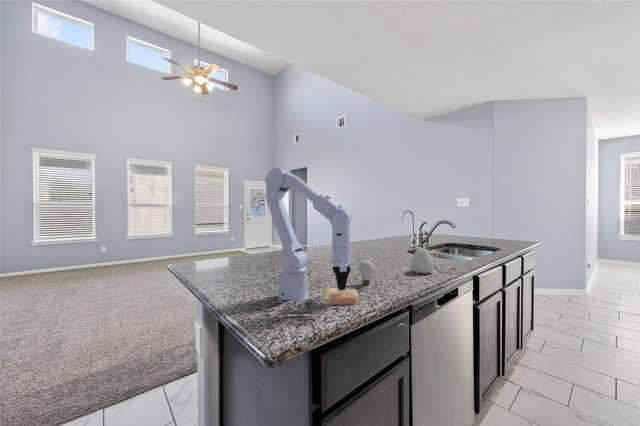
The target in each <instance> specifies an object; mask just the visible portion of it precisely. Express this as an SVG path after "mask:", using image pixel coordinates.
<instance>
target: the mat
mask: <svg viewBox="0 0 640 426" xmlns="http://www.w3.org/2000/svg"><path fill="white" fill-rule="evenodd" d="M329 292H354V295H355V297H356V304H355V305H363V303H362V300H361V298H360V295H359V294H358V292H357V289H356V287H355V286H354V287H349V286H348V287H346V288H345V290H339V289H338V287H322V305H323V306H326V305H329V306H331V305H339V306H340V304H330V302H329Z"/></svg>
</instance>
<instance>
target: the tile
mask: <svg viewBox="0 0 640 426" xmlns="http://www.w3.org/2000/svg"><path fill="white" fill-rule="evenodd" d="M329 302H330V304H339V305H357V304H356V297H355V295H354V292H329Z"/></svg>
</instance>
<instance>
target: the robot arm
mask: <svg viewBox="0 0 640 426" xmlns="http://www.w3.org/2000/svg"><path fill="white" fill-rule="evenodd" d="M264 182H265V202H266V204H267V207H268V210H269V213H270V216H271V218H272V220H273V223H274V226H275V229H276V232H277V235H278V237H279V239H280V242H281V245H282V247H281V251H280V255H281V265H282V268H283V270H284V271H280V272H279V275H278V301H283V300H285V301H286V300H287V301H290V300H291V301H294V300H297V301H298V300H300V301H301V300H302V301H303V300H304V301H305V300H307V301H308V299H309V292H310V291H309V292H308V274H307V273H308V272H307V271H308V268H307V265H309V262H310V255H309V254H308V252H307V251H306V250H305V249H304V246H303V245H302V244H301V243H300V241H298V239H297V235H296V233H295V230H294V228H293V225H292V222H291V219H290V217H289V214H288V212H287V208H286V206H285V204H284V200H283V199H284V197H285V195H286V193H287V192H288V191H290V189H294V190H295V191H297V192H298V193H300V194H301V195H302V196H303V197H304V198H306V199H308V200H309V202H311V203H312V207H313V209H314V210H316V211H317V212H318V213H319V214H320V215H321V216H323V217H324V218H325V219H326V220H329V224H330V225H331V226H332V228H331V229H332V233H331V237H332V238H331V244H332V245H331V248H332V249H331V252H332V253H331V254H332V257H331V258H332V260H331V264H332V265H334V266H332V271H333V272H334V274H335V277H336V278H335V280H336V285H337V288H338V289H339V290H345V288H347V282H348V277H349V275H350V273H351V271H352V269H351V266H350V265H351V264H354V263H355V260H353V259H351V233H350V230H351V229H350V224H351V222H352V215H351V214H350V212H349V211H348V210H347V209H344V208H343V206H342V205H341V204H337V203H336V202H334V201H333V200H332V199H331V198H332V197H331V196H330V195H328V194H327V195H326V194H318V193H317V191H315V190H314V189H312V188H311V187H310V186H309V185H308V184H307V183H305V181H303V180H302V179H301V178H300V177H298V176H297V175H294V174H293V173H292V172H290V171H286V170H283V169H280V168H278V167H274V168H271V169H270V170H269V171H268V172H267V173H266V176H265V178H264Z"/></svg>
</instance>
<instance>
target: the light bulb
mask: <svg viewBox="0 0 640 426" xmlns="http://www.w3.org/2000/svg"><path fill="white" fill-rule="evenodd" d="M374 270H375V267H374V263H372V261H370V260H368V259H365V260H362V261H360V262H359V264H358V271H359V273H360V275H361V279H362V285H364V286H370V284H371V277H372V274H373V273H374Z"/></svg>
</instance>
